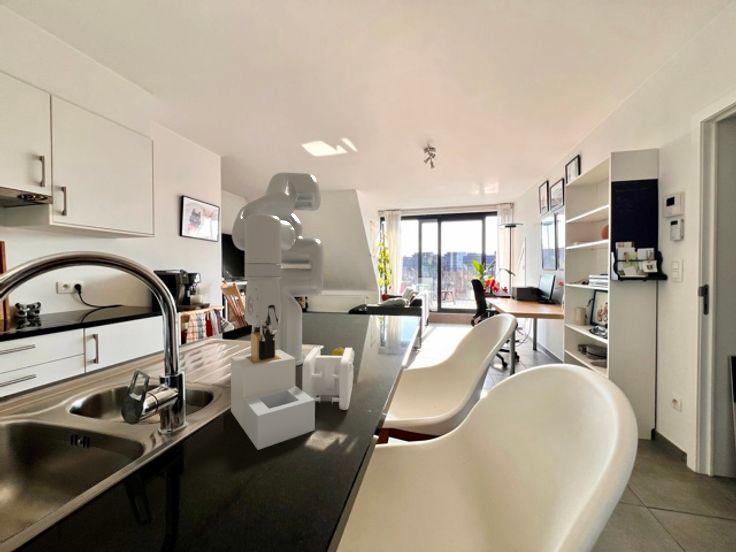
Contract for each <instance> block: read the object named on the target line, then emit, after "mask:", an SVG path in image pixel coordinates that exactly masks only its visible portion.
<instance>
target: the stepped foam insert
mask: <svg viewBox="0 0 736 552" xmlns="http://www.w3.org/2000/svg"><path fill="white" fill-rule="evenodd" d="M230 412H231V414H232V415H233V416H234V418H235V420H236V421H237V422H238V423H239V425H240V426H241V428H242V429H243V430H244V432H245V434H246V435H247V437H248V438H249V439H250V441H251V442H252V443H253V445H254V447H255V448H256V449H257V451H259V450H262V449H264V448H267V447H270V446H271V447H272V446H274V445H276V444H279V443H282V442H284V441H287V440H291V439H294V438H296V437H300V436H302V435H305V434H308V433H311V432H313V431H315V429H316V426H315V421H316V418H315V416H316V415H315V414H316V413H315V412H316V401H315V400H314V399H313V398H312V397H310V396H309V395H308V394H306V393H305V392H303V391H302V389H300V388H299V387H298V386H296V366H295V358H294V357H292V356H290V355H288V354H287V353H285V352H283V351H281V350H276V360H271V361H266V362H260V363H254V364H253V363H252V362H251V353H248V354H244V355H243V354H242V355H238V356H236V355H235V356H231V357H230Z"/></svg>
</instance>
